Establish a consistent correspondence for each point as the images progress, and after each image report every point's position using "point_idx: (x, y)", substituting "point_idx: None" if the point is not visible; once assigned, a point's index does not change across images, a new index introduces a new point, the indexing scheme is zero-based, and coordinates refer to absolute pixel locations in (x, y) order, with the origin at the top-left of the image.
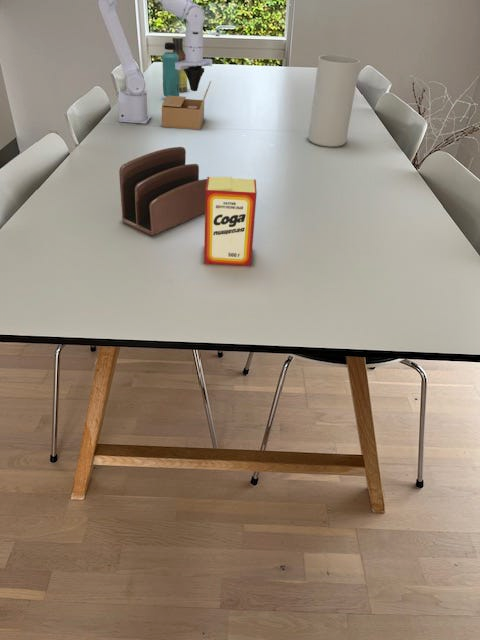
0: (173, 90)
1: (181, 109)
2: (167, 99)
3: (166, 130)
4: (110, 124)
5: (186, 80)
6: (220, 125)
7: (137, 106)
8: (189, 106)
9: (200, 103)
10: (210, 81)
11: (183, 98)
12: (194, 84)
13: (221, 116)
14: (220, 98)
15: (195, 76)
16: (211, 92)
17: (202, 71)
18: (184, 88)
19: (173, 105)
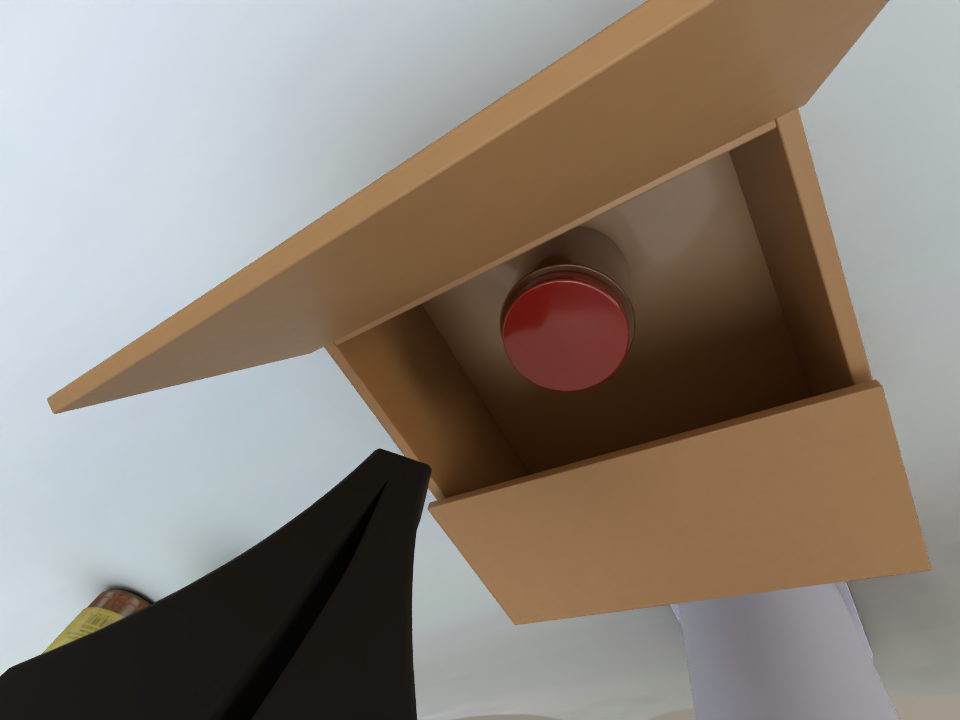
0: None
1: (861, 353)
2: (651, 592)
3: (927, 340)
4: (947, 669)
5: (67, 636)
6: (435, 13)
7: (883, 693)
8: (558, 379)
9: (367, 353)
10: (85, 387)
11: (499, 502)
12: (413, 537)
13: (226, 200)
14: (7, 424)
15: (357, 673)
16: (5, 502)
17: (69, 704)
18: (115, 604)
19: (890, 467)
